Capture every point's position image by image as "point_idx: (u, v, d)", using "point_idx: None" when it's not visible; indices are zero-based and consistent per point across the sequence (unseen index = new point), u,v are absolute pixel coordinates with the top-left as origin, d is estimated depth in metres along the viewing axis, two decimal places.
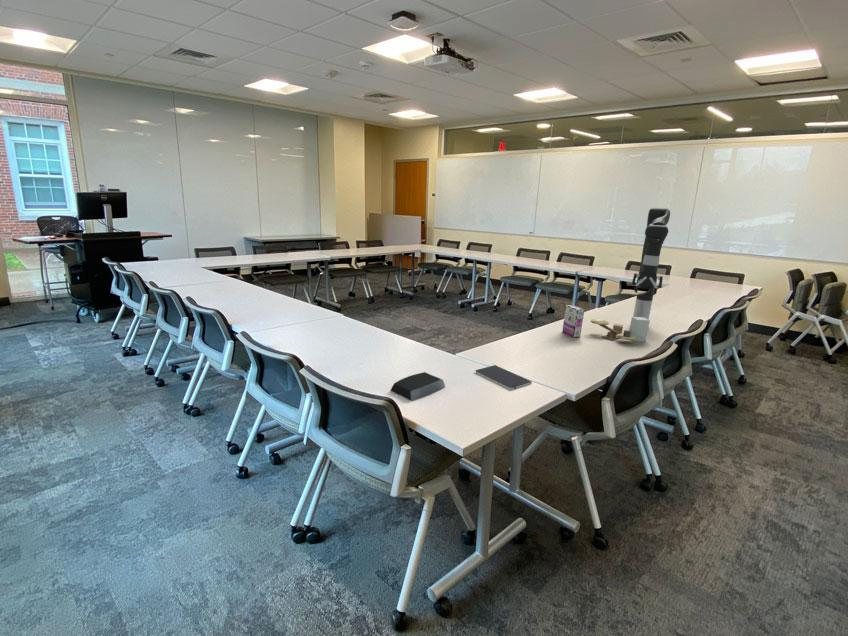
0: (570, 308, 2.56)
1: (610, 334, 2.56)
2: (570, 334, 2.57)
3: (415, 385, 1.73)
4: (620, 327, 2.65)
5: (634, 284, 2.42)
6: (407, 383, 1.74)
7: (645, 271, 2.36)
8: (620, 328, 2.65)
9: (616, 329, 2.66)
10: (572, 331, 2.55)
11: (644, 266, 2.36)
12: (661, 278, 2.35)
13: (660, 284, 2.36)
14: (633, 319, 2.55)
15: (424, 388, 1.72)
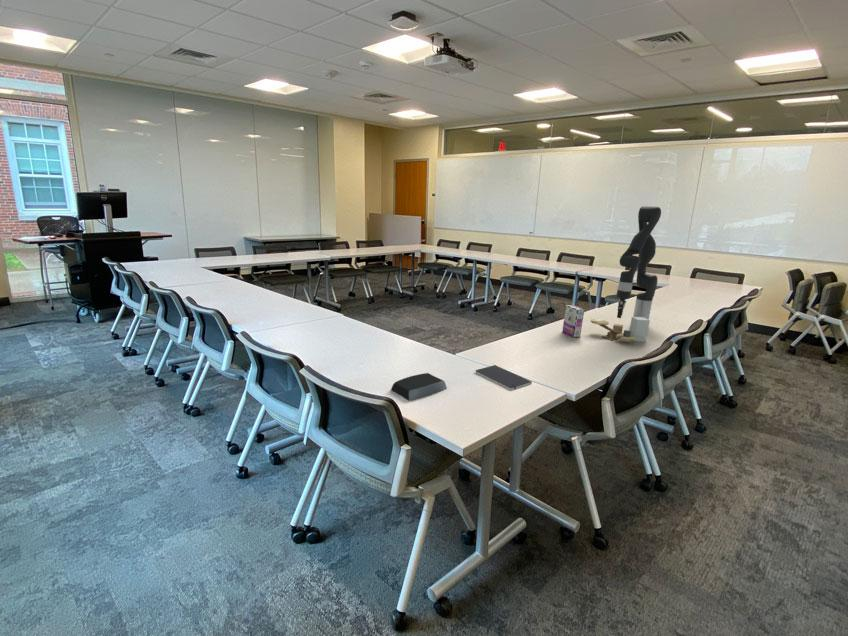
0: (570, 308, 2.56)
1: (610, 334, 2.56)
2: (570, 334, 2.57)
3: (415, 385, 1.73)
4: (620, 327, 2.65)
5: None
6: (407, 383, 1.74)
7: (629, 297, 2.59)
8: (620, 328, 2.65)
9: (616, 329, 2.66)
10: (572, 331, 2.55)
11: (629, 293, 2.58)
12: None
13: None
14: (633, 319, 2.55)
15: (424, 388, 1.71)
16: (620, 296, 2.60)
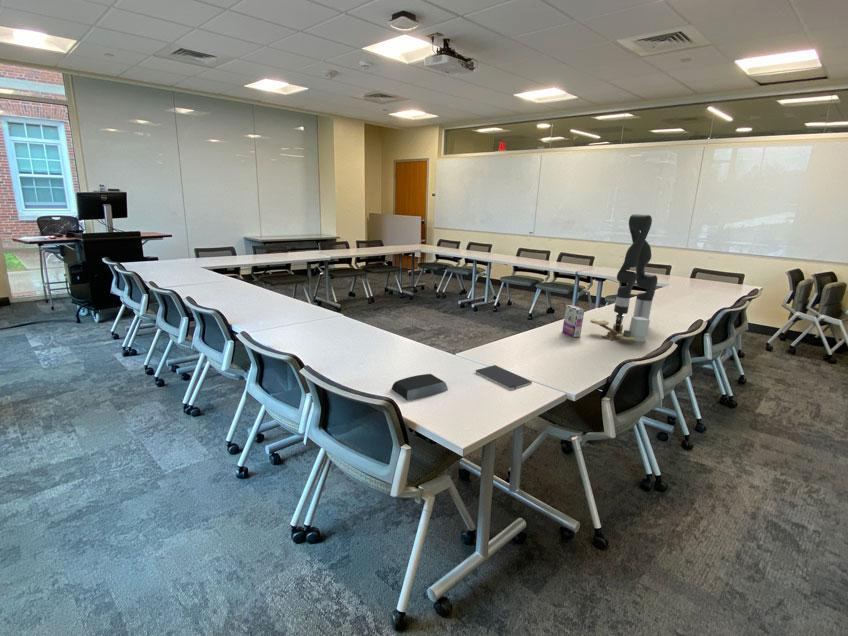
0: (570, 308, 2.56)
1: (610, 334, 2.56)
2: (570, 334, 2.57)
3: (414, 385, 1.73)
4: (620, 327, 2.65)
5: None
6: (407, 382, 1.75)
7: (626, 312, 2.62)
8: (620, 328, 2.65)
9: None
10: (572, 331, 2.55)
11: (626, 308, 2.61)
12: None
13: None
14: (633, 319, 2.55)
15: (423, 388, 1.71)
16: (618, 311, 2.62)
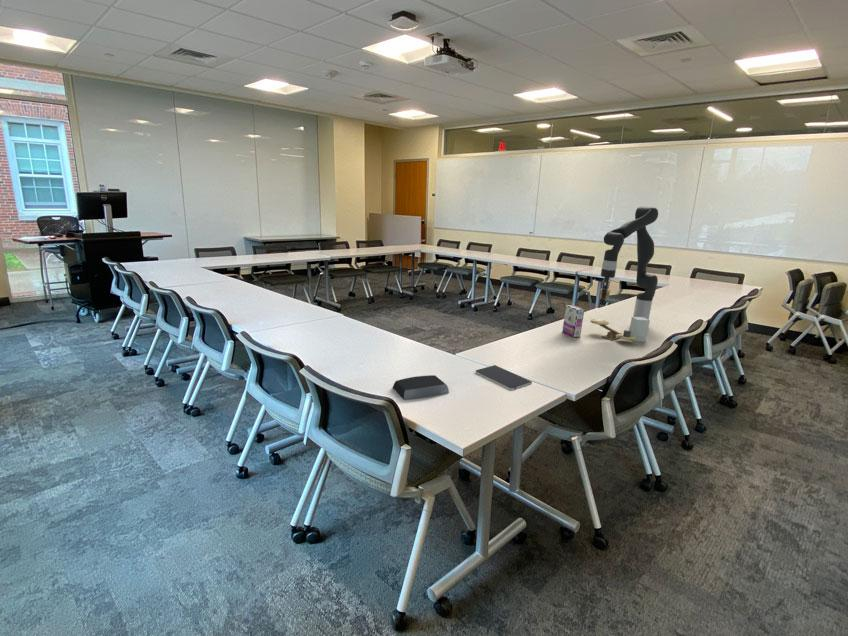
0: (570, 308, 2.56)
1: (610, 334, 2.56)
2: (570, 334, 2.57)
3: (414, 385, 1.72)
4: (607, 292, 2.55)
5: None
6: (408, 382, 1.75)
7: (613, 276, 2.53)
8: (607, 293, 2.55)
9: None
10: (572, 331, 2.55)
11: (613, 271, 2.51)
12: None
13: None
14: (633, 319, 2.55)
15: (421, 389, 1.70)
16: (604, 275, 2.53)
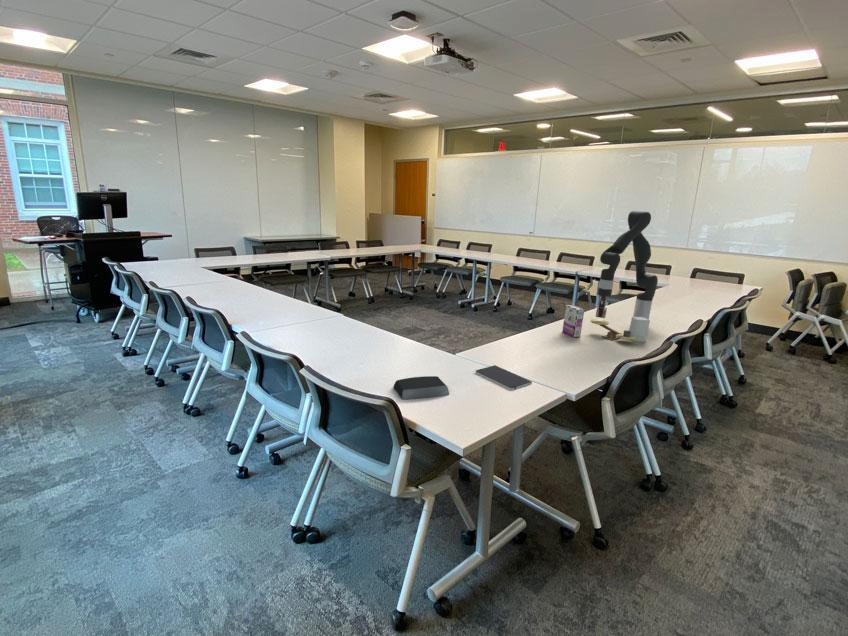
0: (570, 308, 2.56)
1: (610, 334, 2.56)
2: (570, 334, 2.57)
3: (413, 385, 1.72)
4: None
5: None
6: (408, 382, 1.75)
7: (609, 295, 2.56)
8: (603, 311, 2.58)
9: None
10: (572, 331, 2.55)
11: (609, 290, 2.54)
12: (606, 299, 2.64)
13: None
14: (633, 319, 2.55)
15: (420, 390, 1.70)
16: (601, 294, 2.56)
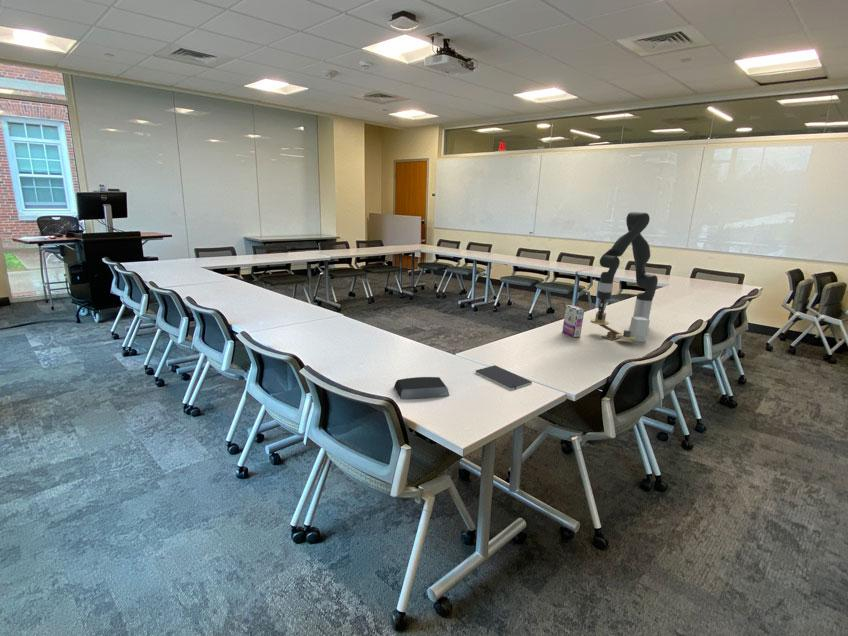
0: (570, 308, 2.56)
1: (610, 334, 2.56)
2: (570, 334, 2.57)
3: (413, 385, 1.72)
4: (603, 315, 2.59)
5: (601, 312, 2.56)
6: (408, 382, 1.75)
7: (609, 298, 2.56)
8: (603, 316, 2.59)
9: None
10: (572, 331, 2.55)
11: (609, 293, 2.55)
12: None
13: None
14: (633, 319, 2.55)
15: (419, 390, 1.69)
16: (600, 297, 2.56)
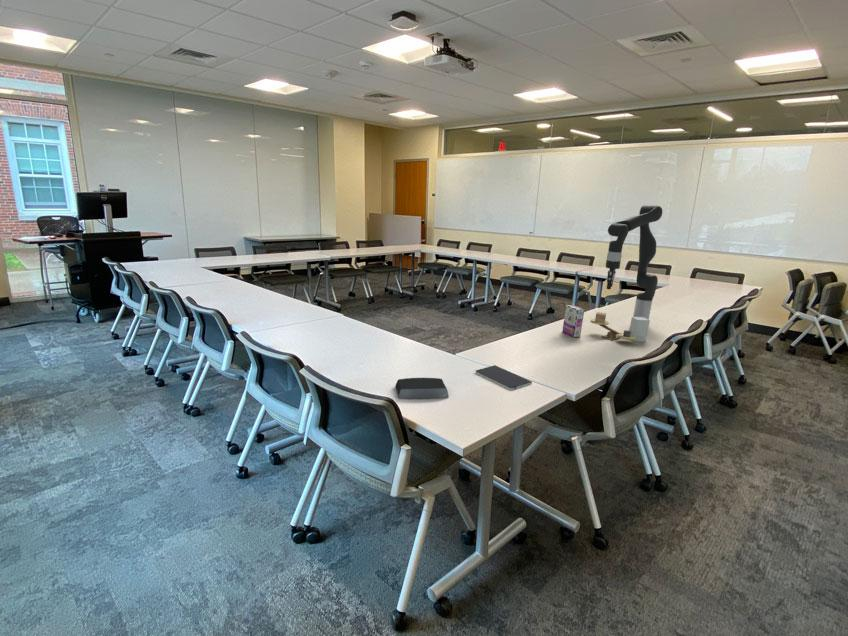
0: (570, 308, 2.56)
1: (610, 334, 2.56)
2: (570, 334, 2.57)
3: (412, 385, 1.72)
4: (603, 315, 2.59)
5: (610, 281, 2.52)
6: (408, 382, 1.75)
7: (618, 267, 2.53)
8: (603, 316, 2.59)
9: (599, 317, 2.60)
10: (572, 331, 2.55)
11: (618, 263, 2.51)
12: None
13: None
14: (633, 319, 2.55)
15: (417, 390, 1.69)
16: (609, 266, 2.53)
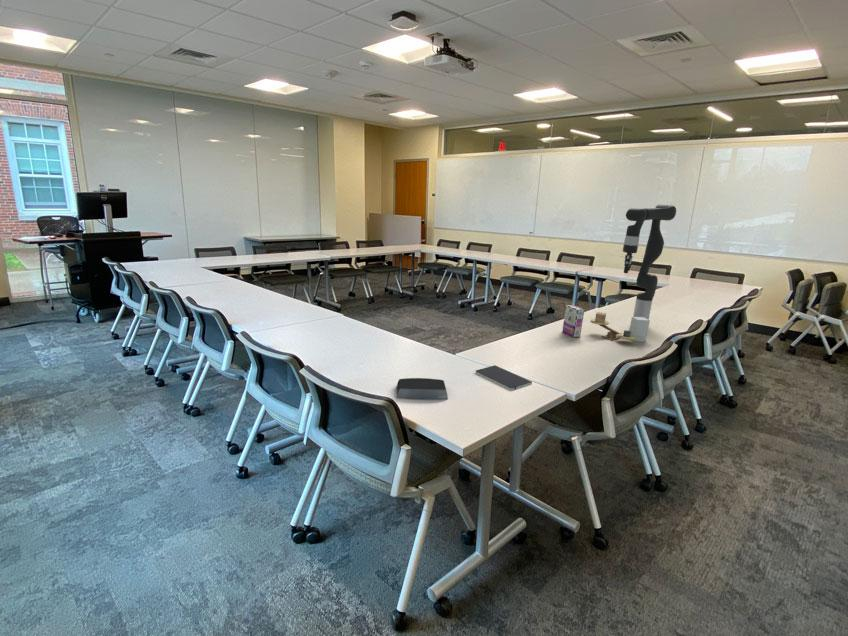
0: (570, 308, 2.56)
1: (610, 334, 2.56)
2: (570, 334, 2.57)
3: (412, 385, 1.72)
4: (603, 315, 2.59)
5: (628, 265, 2.55)
6: (409, 382, 1.75)
7: (635, 251, 2.55)
8: (603, 316, 2.59)
9: (599, 317, 2.60)
10: (572, 331, 2.55)
11: (635, 247, 2.54)
12: (631, 255, 2.64)
13: None
14: (633, 319, 2.55)
15: (416, 390, 1.69)
16: (627, 251, 2.56)
